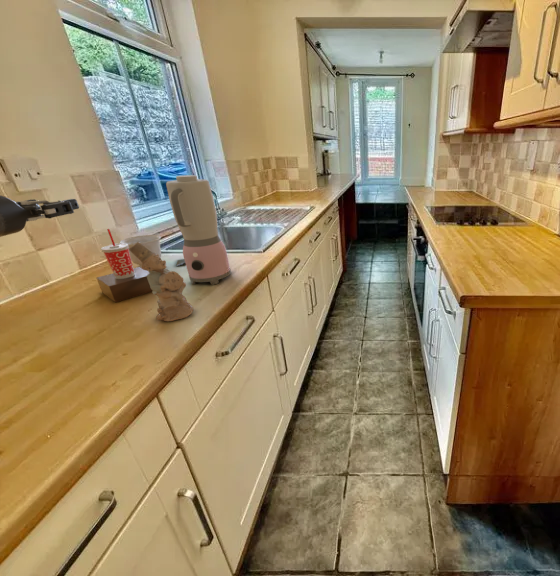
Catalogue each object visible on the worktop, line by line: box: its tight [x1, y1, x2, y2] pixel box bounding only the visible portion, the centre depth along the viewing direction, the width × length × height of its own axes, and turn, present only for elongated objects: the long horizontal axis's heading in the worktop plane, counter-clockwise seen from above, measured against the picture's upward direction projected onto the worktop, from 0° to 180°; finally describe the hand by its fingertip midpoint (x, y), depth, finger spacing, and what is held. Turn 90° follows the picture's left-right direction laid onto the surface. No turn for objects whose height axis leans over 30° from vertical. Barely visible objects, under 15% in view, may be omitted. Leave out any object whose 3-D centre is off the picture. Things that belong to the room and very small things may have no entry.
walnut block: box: [96, 266, 153, 303], centre depth 95 cm, size 11×11×5 cm
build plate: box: [176, 258, 186, 267], centre depth 120 cm, size 12×7×5 cm, turn 117°
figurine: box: [129, 242, 194, 322], centre depth 78 cm, size 9×8×20 cm
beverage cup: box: [100, 228, 135, 279], centre depth 91 cm, size 6×6×14 cm
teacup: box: [111, 234, 162, 268], centre depth 113 cm, size 12×15×10 cm
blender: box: [165, 174, 232, 286], centre depth 97 cm, size 16×12×32 cm
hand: (56, 203), depth 73 cm, fingers open, 8 cm apart
